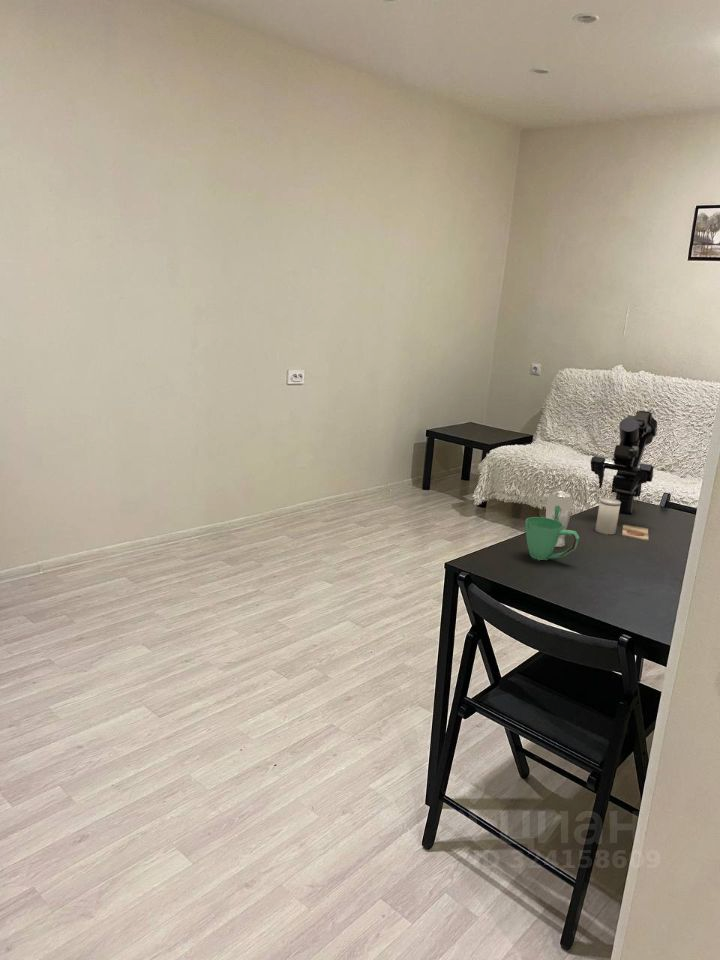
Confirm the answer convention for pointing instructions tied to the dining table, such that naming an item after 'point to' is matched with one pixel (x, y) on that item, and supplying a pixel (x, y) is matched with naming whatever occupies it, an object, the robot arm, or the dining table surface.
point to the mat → (635, 532)
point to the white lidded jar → (607, 516)
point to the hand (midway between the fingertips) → (615, 490)
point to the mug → (546, 537)
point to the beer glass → (559, 510)
